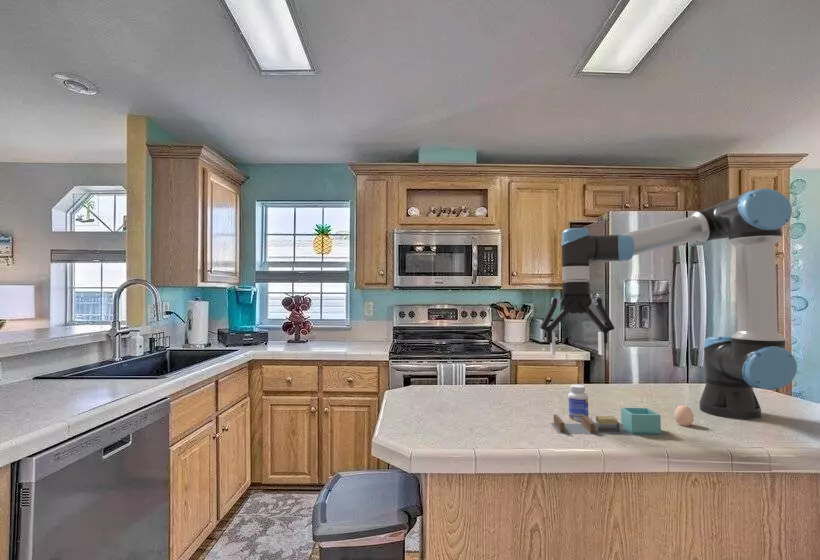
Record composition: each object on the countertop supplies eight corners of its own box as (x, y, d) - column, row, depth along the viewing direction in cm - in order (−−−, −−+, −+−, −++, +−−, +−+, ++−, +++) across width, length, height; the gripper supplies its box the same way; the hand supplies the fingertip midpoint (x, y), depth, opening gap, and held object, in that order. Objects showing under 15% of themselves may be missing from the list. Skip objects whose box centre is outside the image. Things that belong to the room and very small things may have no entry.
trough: (585, 424, 118) (585, 415, 118) (594, 433, 110) (594, 423, 110) (553, 423, 119) (553, 414, 119) (560, 432, 111) (560, 422, 111)
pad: (613, 420, 115) (613, 416, 115) (617, 424, 112) (617, 419, 112) (596, 420, 115) (595, 415, 116) (599, 423, 113) (599, 418, 113)
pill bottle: (590, 423, 121) (589, 388, 121) (570, 422, 122) (569, 387, 122) (586, 417, 126) (585, 384, 127) (567, 416, 127) (566, 383, 128)
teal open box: (648, 426, 116) (648, 408, 116) (660, 435, 109) (660, 415, 109) (621, 426, 117) (621, 407, 117) (631, 434, 110) (631, 414, 110)
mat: (648, 427, 117) (648, 425, 117) (664, 438, 108) (664, 436, 108) (550, 424, 120) (550, 423, 120) (558, 434, 111) (558, 433, 111)
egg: (696, 429, 115) (695, 407, 115) (677, 427, 116) (676, 406, 117) (691, 424, 119) (690, 403, 119) (672, 423, 121) (672, 402, 121)
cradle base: (618, 427, 115) (617, 419, 115) (623, 431, 112) (623, 423, 112) (590, 427, 116) (590, 418, 116) (595, 431, 112) (594, 422, 112)
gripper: (615, 281, 128) (617, 353, 127) (529, 282, 131) (530, 352, 130) (625, 280, 121) (627, 356, 120) (534, 281, 123) (535, 355, 122)
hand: (577, 354), depth 125 cm, fingers open, 13 cm apart
